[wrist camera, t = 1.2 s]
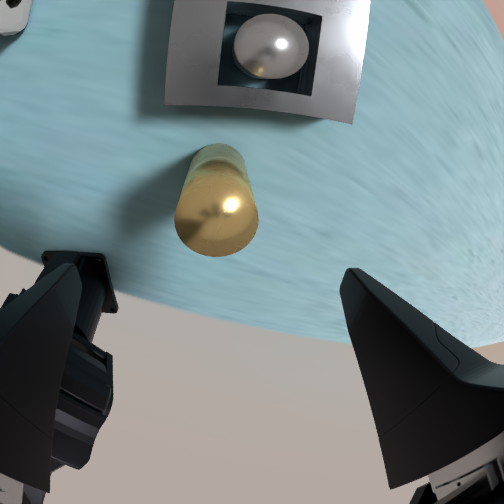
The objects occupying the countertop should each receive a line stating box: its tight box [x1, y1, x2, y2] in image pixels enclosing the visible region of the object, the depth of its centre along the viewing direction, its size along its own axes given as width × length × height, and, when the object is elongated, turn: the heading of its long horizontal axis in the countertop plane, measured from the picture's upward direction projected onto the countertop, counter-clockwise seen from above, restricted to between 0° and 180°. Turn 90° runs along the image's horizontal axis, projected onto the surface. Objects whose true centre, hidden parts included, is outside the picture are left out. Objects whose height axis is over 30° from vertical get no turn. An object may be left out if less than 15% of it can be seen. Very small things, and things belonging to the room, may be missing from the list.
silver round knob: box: [232, 14, 309, 79], centre depth 12 cm, size 4×4×4 cm
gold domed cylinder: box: [174, 144, 258, 257], centre depth 15 cm, size 4×4×7 cm
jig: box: [164, 0, 370, 124], centre depth 10 cm, size 13×10×3 cm
